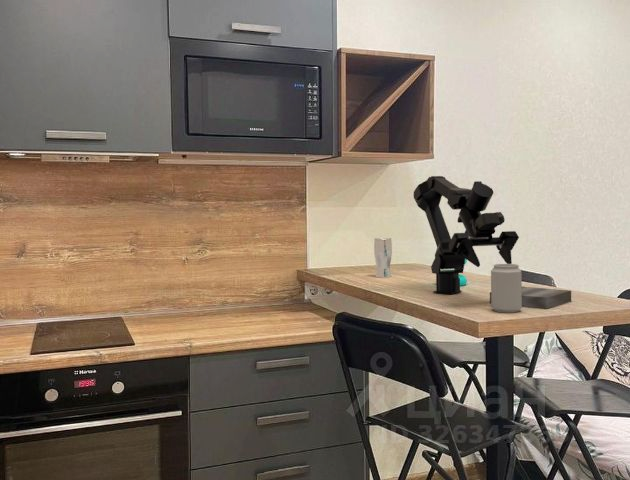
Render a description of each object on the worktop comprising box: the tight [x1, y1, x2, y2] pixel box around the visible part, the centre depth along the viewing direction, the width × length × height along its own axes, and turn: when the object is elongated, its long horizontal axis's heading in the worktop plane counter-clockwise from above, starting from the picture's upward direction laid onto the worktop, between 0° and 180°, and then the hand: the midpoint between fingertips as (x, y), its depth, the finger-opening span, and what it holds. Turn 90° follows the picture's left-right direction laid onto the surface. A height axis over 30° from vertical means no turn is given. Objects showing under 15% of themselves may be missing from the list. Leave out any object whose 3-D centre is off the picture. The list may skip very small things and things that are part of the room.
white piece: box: [373, 237, 393, 279], centre depth 232 cm, size 7×7×15 cm
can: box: [490, 263, 523, 314], centre depth 153 cm, size 8×8×12 cm
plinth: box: [489, 286, 572, 310], centre depth 165 cm, size 16×16×3 cm
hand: (494, 265), depth 158 cm, fingers open, 9 cm apart
